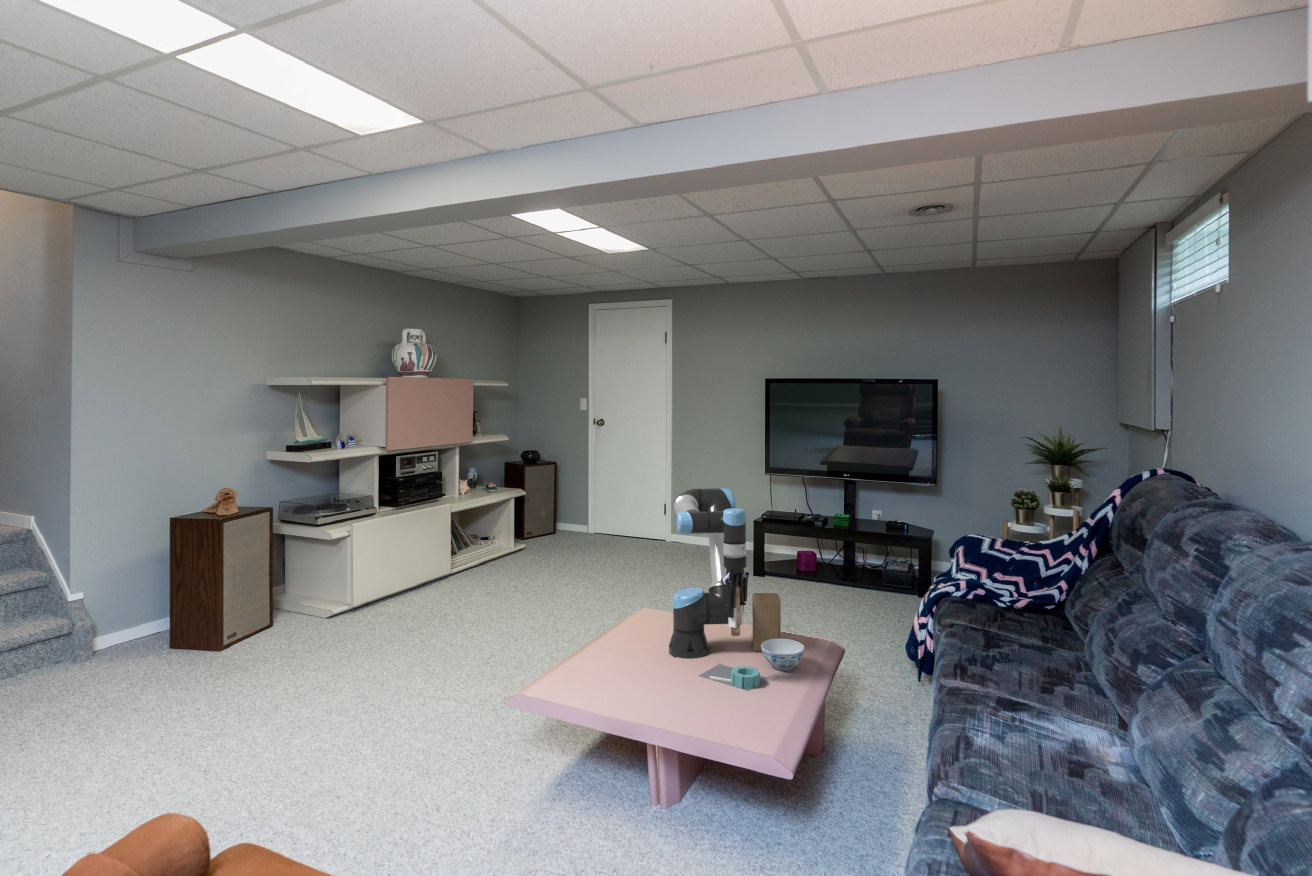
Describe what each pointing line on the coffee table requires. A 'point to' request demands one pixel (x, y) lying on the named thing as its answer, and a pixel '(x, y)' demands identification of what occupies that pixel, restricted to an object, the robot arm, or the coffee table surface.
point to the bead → (745, 677)
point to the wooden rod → (737, 613)
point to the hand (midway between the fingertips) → (735, 625)
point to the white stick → (720, 678)
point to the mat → (724, 674)
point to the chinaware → (782, 653)
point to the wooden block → (766, 618)
